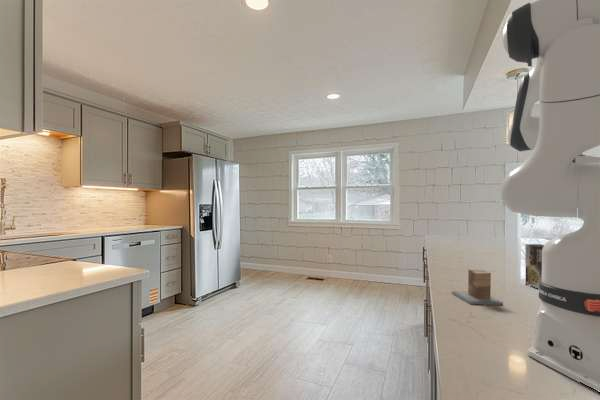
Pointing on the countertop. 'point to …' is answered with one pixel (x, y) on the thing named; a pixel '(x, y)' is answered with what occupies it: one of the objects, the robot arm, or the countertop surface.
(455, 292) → the plate
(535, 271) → the coffee box
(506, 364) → the countertop surface
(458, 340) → the countertop surface
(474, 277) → the walnut block
